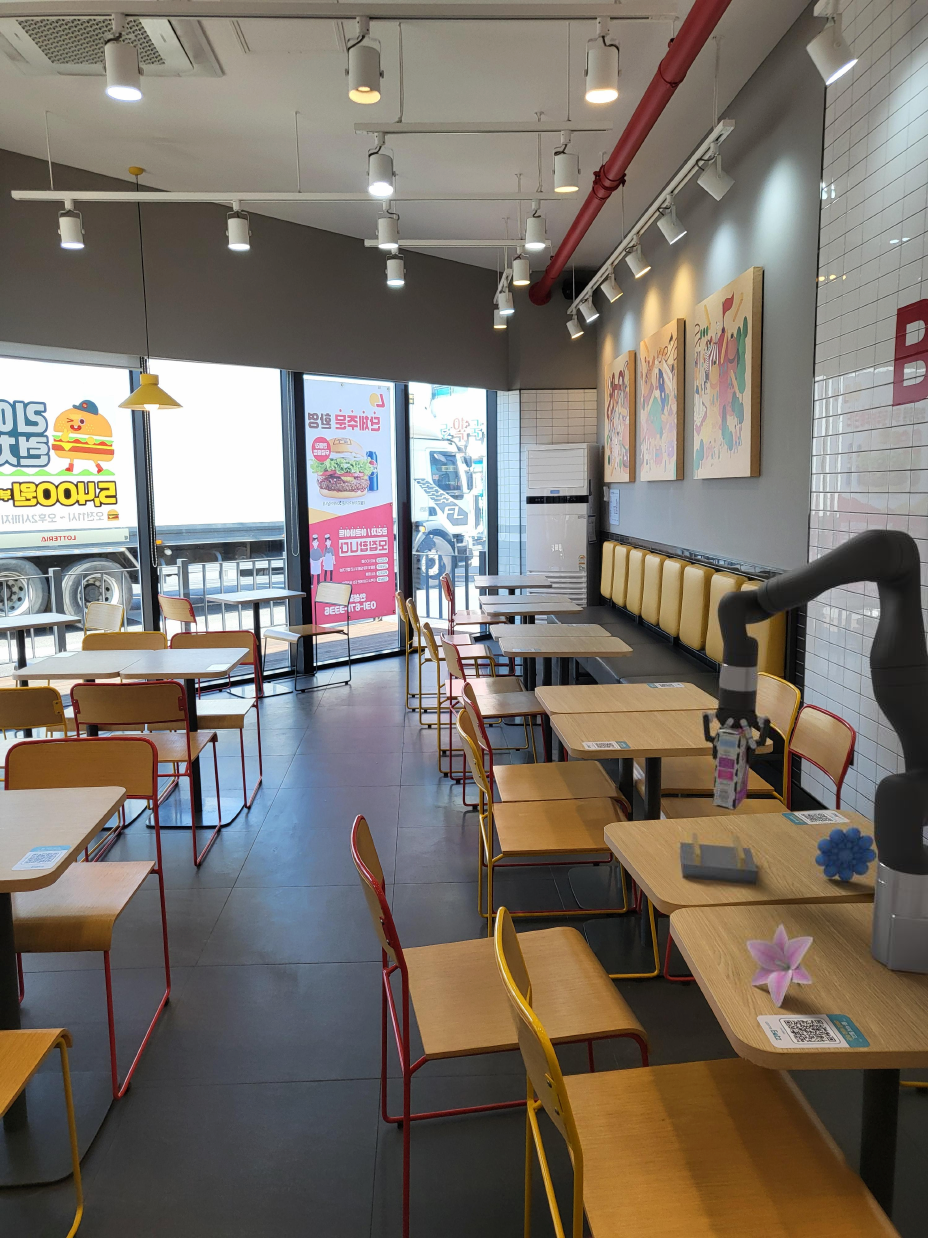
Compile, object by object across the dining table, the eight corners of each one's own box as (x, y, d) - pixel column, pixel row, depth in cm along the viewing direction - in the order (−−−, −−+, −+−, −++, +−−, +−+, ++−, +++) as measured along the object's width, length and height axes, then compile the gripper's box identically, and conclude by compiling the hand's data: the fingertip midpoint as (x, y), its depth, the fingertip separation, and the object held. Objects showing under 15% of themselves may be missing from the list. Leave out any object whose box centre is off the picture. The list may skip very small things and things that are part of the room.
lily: (744, 968, 142) (729, 931, 138) (811, 948, 140) (798, 909, 136) (768, 1029, 131) (752, 990, 127) (841, 1008, 129) (828, 967, 125)
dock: (756, 884, 172) (758, 859, 171) (682, 877, 175) (683, 852, 174) (749, 861, 184) (750, 837, 183) (679, 855, 187) (680, 831, 186)
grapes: (872, 877, 176) (876, 823, 175) (875, 890, 170) (879, 834, 168) (813, 868, 180) (816, 815, 179) (814, 881, 174) (817, 826, 172)
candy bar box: (736, 811, 170) (741, 734, 168) (711, 806, 173) (716, 730, 170) (748, 795, 180) (753, 722, 177) (725, 791, 182) (729, 719, 180)
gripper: (703, 687, 170) (698, 765, 173) (777, 691, 167) (771, 771, 170) (701, 679, 178) (696, 754, 180) (771, 683, 175) (766, 760, 177)
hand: (733, 762), depth 175 cm, fingers closed on candy bar box, 6 cm apart
